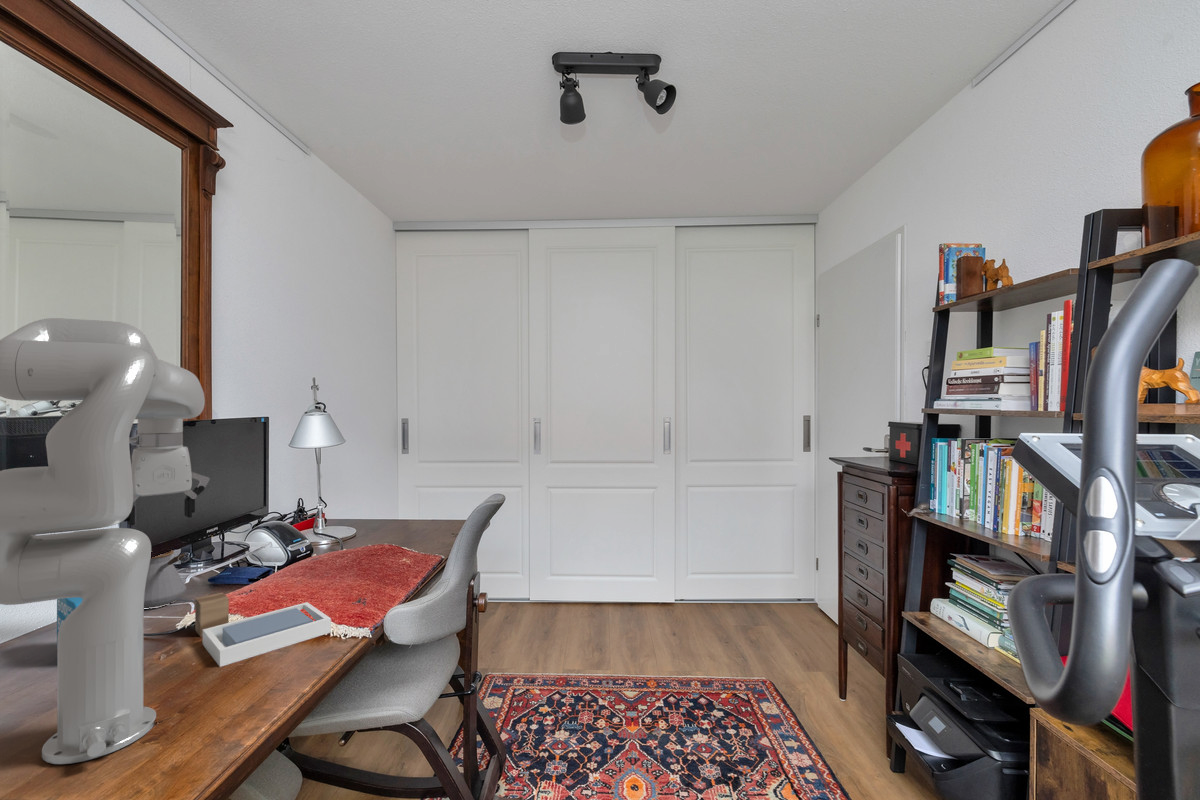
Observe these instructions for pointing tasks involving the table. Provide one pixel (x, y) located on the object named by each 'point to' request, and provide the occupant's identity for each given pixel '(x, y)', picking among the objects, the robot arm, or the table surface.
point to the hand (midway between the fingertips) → (160, 520)
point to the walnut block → (211, 612)
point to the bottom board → (263, 626)
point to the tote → (264, 637)
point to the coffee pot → (163, 581)
